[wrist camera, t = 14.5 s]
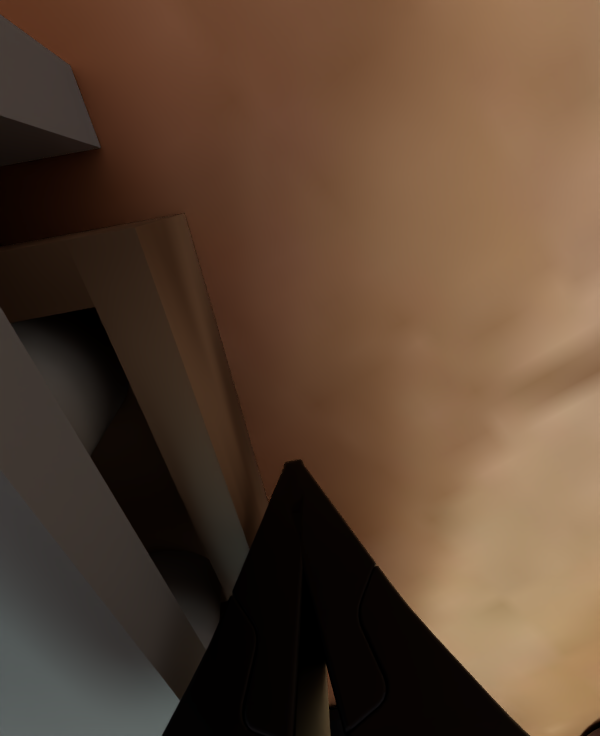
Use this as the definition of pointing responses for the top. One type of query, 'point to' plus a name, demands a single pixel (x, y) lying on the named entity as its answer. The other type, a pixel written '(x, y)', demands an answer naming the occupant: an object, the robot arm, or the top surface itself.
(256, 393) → the top surface
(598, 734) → the mortar and pestle
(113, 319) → the walnut tray
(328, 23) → the top surface
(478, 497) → the top surface
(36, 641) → the grey shelf
